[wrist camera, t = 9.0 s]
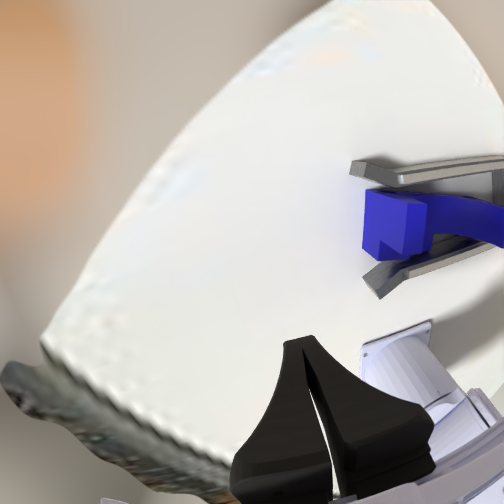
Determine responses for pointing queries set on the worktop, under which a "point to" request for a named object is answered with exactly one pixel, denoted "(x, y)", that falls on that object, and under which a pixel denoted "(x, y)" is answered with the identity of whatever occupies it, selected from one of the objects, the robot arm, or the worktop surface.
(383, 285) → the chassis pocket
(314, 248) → the worktop surface
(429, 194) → the cable clip
